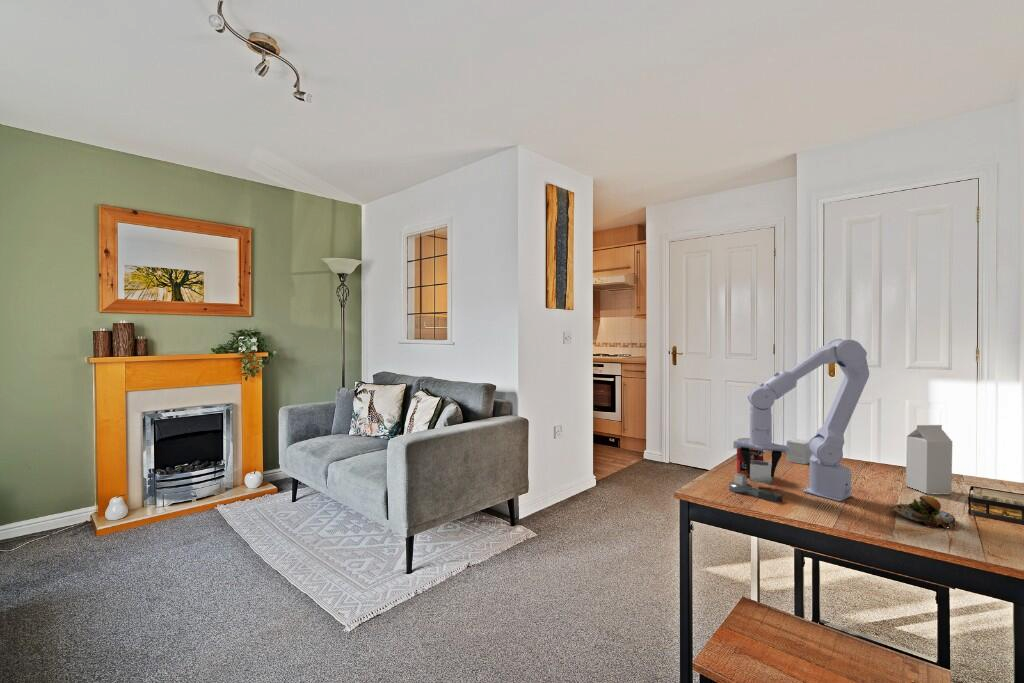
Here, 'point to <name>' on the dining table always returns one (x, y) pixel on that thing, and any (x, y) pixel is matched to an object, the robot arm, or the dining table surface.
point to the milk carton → (929, 460)
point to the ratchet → (752, 489)
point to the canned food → (753, 456)
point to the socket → (760, 471)
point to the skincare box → (798, 451)
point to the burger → (926, 512)
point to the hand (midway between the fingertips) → (760, 474)
